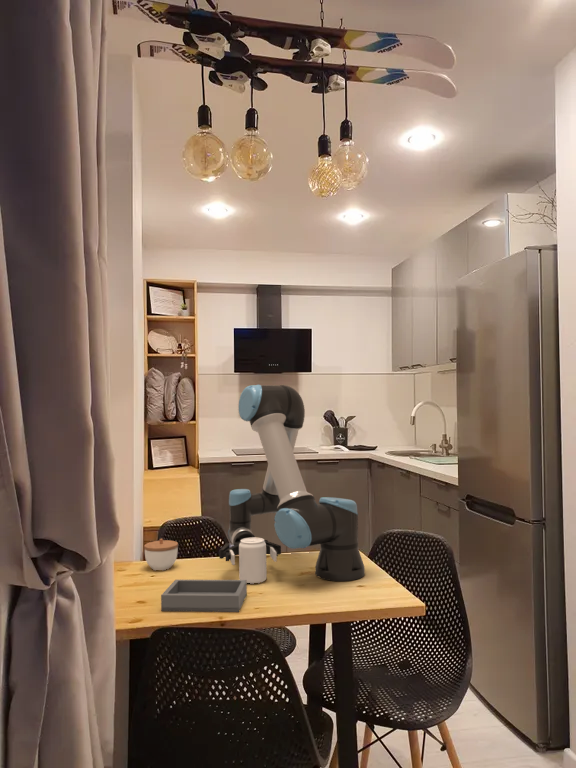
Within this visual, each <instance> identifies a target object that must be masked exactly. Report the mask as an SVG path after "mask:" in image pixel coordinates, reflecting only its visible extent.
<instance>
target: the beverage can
mask: <svg viewBox="0 0 576 768" xmlns="http://www.w3.org/2000/svg"><path fill="white" fill-rule="evenodd" d="M264 540H265V539H264V538H262V537H256V536H255V537H252V538H244V539H242V540H241V542H240V544H239V554H238V567H239V568H238V569H239V570H238V571H239V572H238V573H239V574H238V575H239V578H238V580H247V583H250V584H249V585H255V584H254V583H258V584H261V583H263V582H265V581H266V580H267V578H268V577H267V576H268V575H267V554H266V543H265V542H264ZM260 582H261V583H260Z"/></svg>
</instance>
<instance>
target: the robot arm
mask: <svg viewBox="0 0 576 768" xmlns="http://www.w3.org/2000/svg"><path fill="white" fill-rule="evenodd" d="M238 413H239V416H240V417H239V418H241V419H242V420H243V421H244V422H249V424H250V427H251V429H252V431H254V432H256V433H257V434H258V436H259V440H260V443H261V446H262V450H263V452H264V455H265V459H266V462H267V469H266V473H265V477H264V481H263V486H262V490H261V492H258V493H256V492H255V493H251V490H250V489H248V488H237V489H233V490H230V491H229V495H228V509H229V511H228V512H229V522H228V525H229V526H228V527H229V528H228V532H227V534H228V539H229V541H230V542H231V543H230V542H225V545H223V546H222V547H220V549H219V559H224V558H225V562H230V563H231V565H232V566H235V565H236V562H235V561H236V556H237V555H239V544H240V542H241V540H242V539H244V538H252V537H256V536H255V535H254V533H253V532H252V516H253V517H254V516H257V515H264V514H271V513H272V514H274V513H275V515H274V523H273V525H274V530H275V533H276V536H277V537H278V540H279V541H280V542H281V543H282V545H284V546H286V547H287V548H289V549H305V548H308V547H311V546H317V545H320V549H319V553H318V557H317V559H316V562H315V567H314V568H315V569H314V570H315V576H316V577H318V578H320V579H322V580H326V581H330V582H331V581H333V582H347V581H356V580H358V579H359V580H360V579H362V578H363V577H364V576H365V575H366V573H365V571H366V570H365V565H364V562H363V561H364V560H363V558H362V555H361V553H360V550H359V519H358V518H359V513H358V505H357V503H356V501H355V500H354V499H353V500H352V499H350V498H349V499H348V498H341V497H330V496H327V497H326V496H325V497H320V498H319V501H318V503H317V501H316V499H315V497H314V495H313V494H312V493H310V492H308V491H307V487H306V485H305V483H304V482H305V481H304V479H303V477H302V474H301V471H300V470H301V469H300V468H299V464H298V462H297V459H296V457H295V453H294V450H295V446H296V441H297V437H298V434H299V430H301V429H302V428H303V426H304V422H305V414H306V412H305V405H304V401H303V398H302V396H301V395H300V393H299V392H298V391H297V390H296V389H295V388H293V387H292V386H289V385H284V384H283V385H282V384H281V385H280V384H279V385H274V384H272V385H271V384H270V385H268V384H267V385H265V384H264V385H263V384H262V385H261V384H256V385H255V384H253V385H252V384H251V385H248V386H246V387H245V388H243V390H242V392H241V394H240V397H239V401H238ZM264 542H265V543H266V555H269V557H270V558H271V560H273V562H278V561H277V557H278V556H279V555H282V546H281V545H280V544H277V543H274V542H271V541H270V540H268V539H264Z"/></svg>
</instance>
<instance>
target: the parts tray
mask: <svg viewBox="0 0 576 768" xmlns="http://www.w3.org/2000/svg"><path fill="white" fill-rule="evenodd" d="M247 585H248V584H247V580H240V579H175V580H174V581H173V582H172V583H171V584H170V585H169V586H168V587H167V588H166V589H165V590H164V591H163V592H162V594H161V596H160V599H161V600H160V606H161V608H160V610H161V612H195V613H196V612H197V613H198V612H199V613H200V612H205V613H206V612H211V613H212V612H213V611H214V612H213V613H216V612H218V613H221V612H222V613H223V612H224V613H225V612H227V613H239V612H240V611H241V608H242V607H243V604H244V602H243V601H245V600H246V597H247V595H248V594H247V593H248V592H247V591H248V587H247ZM244 599H245V600H244ZM239 610H240V611H239Z"/></svg>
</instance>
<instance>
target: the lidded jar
mask: <svg viewBox="0 0 576 768" xmlns="http://www.w3.org/2000/svg"><path fill="white" fill-rule="evenodd" d="M143 547H144V548H143V549H144V557H145V558H144V559H145V561H146V564H147V565H148V566H149V567H150V568H151V570H152V569H153V571H156V570H162V571H167V570H170V569H171V568H172V566H173V565H174V564H175V562H176V561H177V558H178V551H179V550H178V549H179V542H177V541H176V540H175V541H174V540H168V539H167V540H166V539H165V540H164V538H159V540H154V541H150V542H147V543H146V544H144V546H143ZM169 568H170V569H169ZM166 569H167V570H166Z"/></svg>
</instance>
